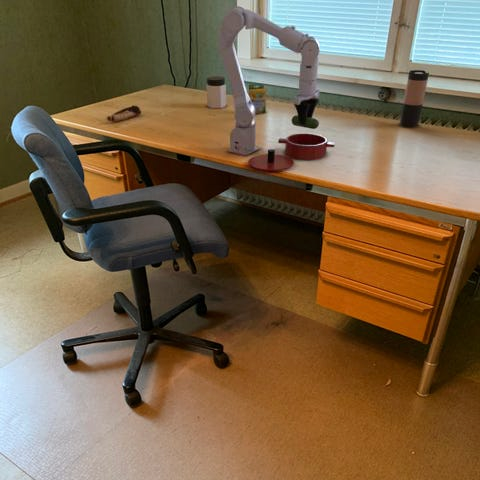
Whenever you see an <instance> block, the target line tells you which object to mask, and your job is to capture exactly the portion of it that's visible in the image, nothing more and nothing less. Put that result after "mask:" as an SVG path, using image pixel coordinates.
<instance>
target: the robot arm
mask: <svg viewBox="0 0 480 480" xmlns="http://www.w3.org/2000/svg"><path fill="white" fill-rule="evenodd" d="M220 24H221V25H220V29H219V34H218V39H217V46H218V49H219V52H220V56H221V59H222V62H223V66H224V70H225V73H226V76H227V80H228V83H229V86H230V87H229V88H230V90H231V94H232V96H233V105H234V110H235V111H234V112H235V114H234V119H235V125H234V128H232V130H231V131H230V133H229V149H228V151H227V152H229V153H233V154H238V155H242V156H248V155H250V154H251V153H254V152H256V151H258V150H260V149H261V146H257V145H256V135H257V133H256V132H257V131H256V129H257V127H256V126H257V125H256V121H255V120H254V117H255V116H256V114H257V113H256V109H255V106H254V105H253V103H252V102H251V100H250V97H249V92H248V90H247V86H246V84H245V80H244V77H243V72H242V69H241V65H240V62H239V61H240V60H239V58H238V54H237V49H236V46H235V42H236V39H237V37H238V35H239V33H240V32H241V31H242V30H243V29H245V30H251V29H256V30H258V31H261V32H263V33H265V34H266V35H267V34H268V35H269V36H272V37H274V38H276V39H278V42H279V45H280V46H282V47H284V48H286V49H288V50H289V51H291V52H293V53H295V54H300V56H301V59H300V61H301V63H300V66H299V80H298V92H297V94H296V96H295V97H293V105H294V107H295V110H296V113H297V115H298V119H299V123H300V124H305V123H306V119H307V117H310V118H313V115H314V112H315V109H316V107H317V105H318V104H319V102H320V99H319V97H320V91H321V90H319V89H317V79H318V67H319V64H318V62H319V54H320V43H319V41H318V40H317V39H316V38H315V37H314V36H310V34H308V33H307V32H306V33H305V34H304V33H303V32H301V31H299V30H297V29H296V26H294V25H291V26H290V25H286V26H284V27H281V26H280V25H278V24H277V23H274V22H273V21H271V20H269V19H268V18H265V17H264V16H262V15H261V14H258V13H257V12H254V11H252V10H250V9H247V8H246V9H245V8H243V7H242V6H238V5H237V6H234V7H232V8H231V9H229V10H228V11H227V12H226V13H225V15H224V17H223V18H222V20H221V23H220Z"/></svg>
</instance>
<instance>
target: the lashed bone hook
mask: <svg viewBox="0 0 480 480" xmlns="http://www.w3.org/2000/svg"><path fill="white" fill-rule="evenodd" d="M141 114H142V109H141V108H140V107H139V106H138V105H134V104H133V105H131V106H128V107H124V108H122V109H119V110H117V111H116V112H114V113H113V114H111V115H108V116H107V117H106V118H107V121H109V122H119V121H126V120H128V119H132V118H135V117H137V116H139V115H141Z"/></svg>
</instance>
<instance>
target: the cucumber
mask: <svg viewBox="0 0 480 480" xmlns="http://www.w3.org/2000/svg"><path fill="white" fill-rule="evenodd" d="M291 124H292V125H293V126H295V127H299V128H307V129H312V130H315V129H318V128H319V125H320V121H319V119H317V118H315V117H312V118H310V117H307V119H306V123H305V124H300V123H299V119H298V114H295V115H294V116H292V117H291Z"/></svg>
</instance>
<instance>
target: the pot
mask: <svg viewBox="0 0 480 480" xmlns="http://www.w3.org/2000/svg"><path fill="white" fill-rule="evenodd" d="M277 143H278V144H284V146H285V147H284V152H285V156H287V157H289V158H291V159H293V160H298V161H315V160H320V159H322V158H324V157H325V156H327V155H326V154H327V150H328V149H327V148H334V147H335V145H336V142H334V141H328V139H327V137H326V136H323V135H321V134H316V133H309V132H303V133H302V132H301V133H293V134H290V135H288V136H287V137H286V138H279V139H278V141H277Z"/></svg>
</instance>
